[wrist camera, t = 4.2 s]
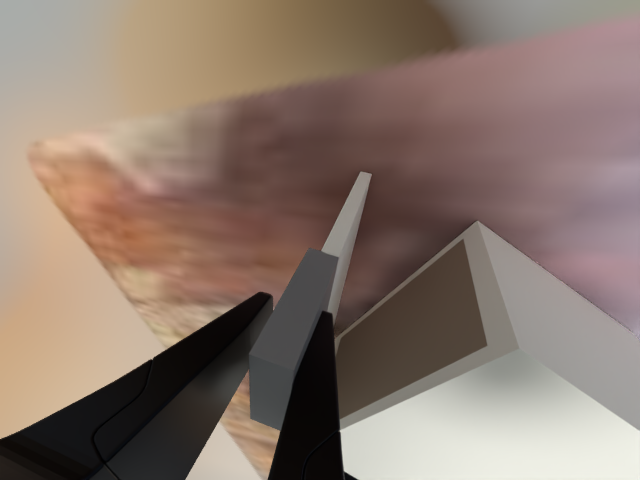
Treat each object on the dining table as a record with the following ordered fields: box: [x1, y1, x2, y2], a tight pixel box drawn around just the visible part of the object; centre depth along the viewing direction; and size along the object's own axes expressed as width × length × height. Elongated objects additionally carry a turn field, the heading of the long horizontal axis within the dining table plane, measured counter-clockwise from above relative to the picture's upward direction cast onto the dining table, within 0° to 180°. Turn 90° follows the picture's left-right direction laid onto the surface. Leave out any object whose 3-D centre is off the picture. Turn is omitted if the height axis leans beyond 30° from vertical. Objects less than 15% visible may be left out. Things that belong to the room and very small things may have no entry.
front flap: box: [249, 172, 372, 431], centre depth 14 cm, size 14×1×12 cm, turn 172°
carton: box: [335, 221, 640, 480], centre depth 16 cm, size 14×11×8 cm
